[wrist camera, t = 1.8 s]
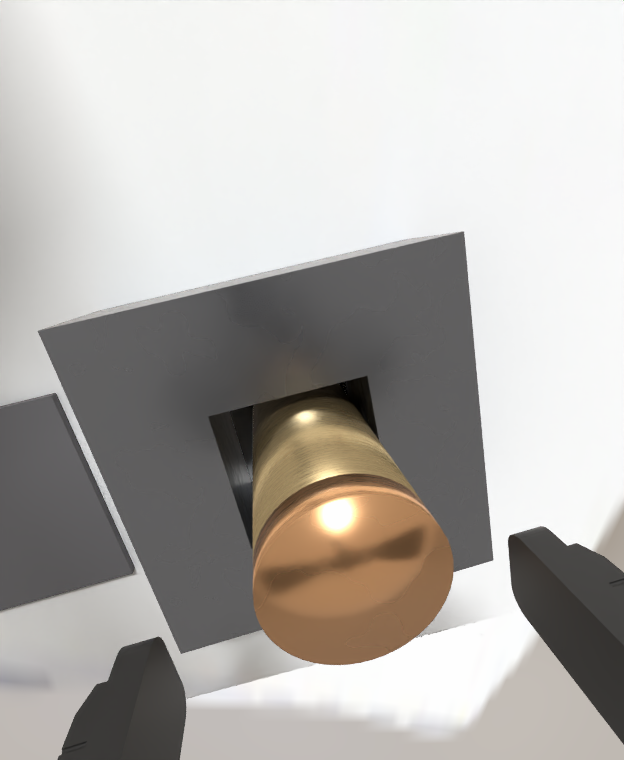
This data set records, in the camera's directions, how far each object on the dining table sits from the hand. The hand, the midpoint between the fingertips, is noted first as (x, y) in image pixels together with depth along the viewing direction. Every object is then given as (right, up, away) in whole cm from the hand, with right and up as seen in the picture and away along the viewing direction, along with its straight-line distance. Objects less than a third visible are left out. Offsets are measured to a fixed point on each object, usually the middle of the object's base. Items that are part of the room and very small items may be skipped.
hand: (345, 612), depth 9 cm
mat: (-16, -1, +10) cm, 19 cm away
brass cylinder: (-1, +3, +11) cm, 11 cm away
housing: (-2, +3, +11) cm, 11 cm away
